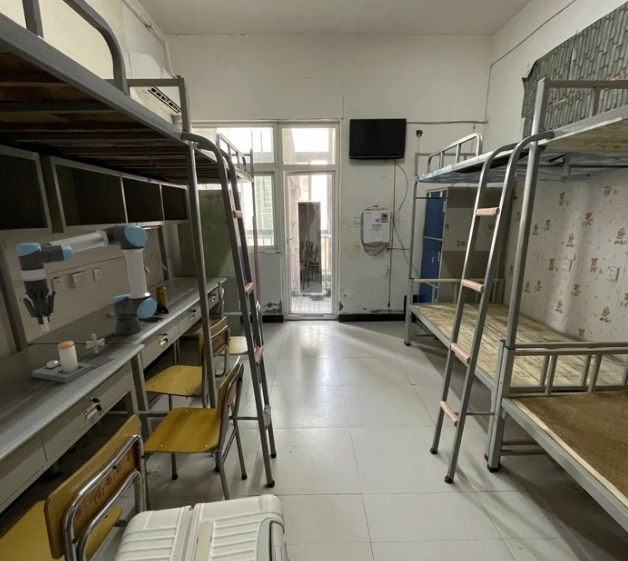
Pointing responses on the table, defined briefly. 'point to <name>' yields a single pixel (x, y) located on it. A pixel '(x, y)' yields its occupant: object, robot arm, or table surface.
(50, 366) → the plunger
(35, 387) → the table surface
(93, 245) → the robot arm
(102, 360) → the mat
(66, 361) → the cartridge
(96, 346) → the pipe connector
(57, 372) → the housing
